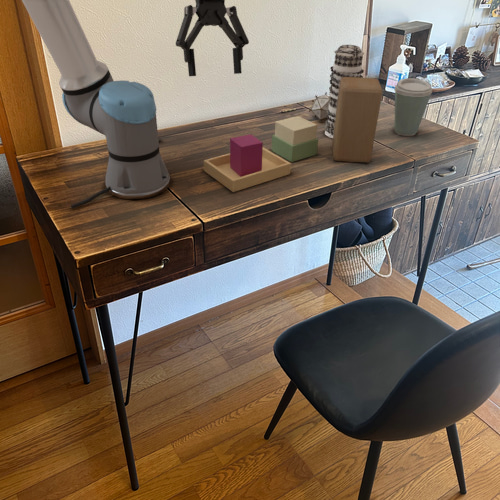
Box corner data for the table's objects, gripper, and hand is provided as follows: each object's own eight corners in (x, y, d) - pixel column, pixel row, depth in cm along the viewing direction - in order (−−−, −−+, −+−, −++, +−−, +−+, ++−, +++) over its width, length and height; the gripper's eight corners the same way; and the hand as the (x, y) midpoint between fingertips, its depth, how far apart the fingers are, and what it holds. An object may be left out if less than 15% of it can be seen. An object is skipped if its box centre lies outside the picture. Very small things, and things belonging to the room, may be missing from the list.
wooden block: (366, 149, 138) (378, 77, 127) (370, 164, 130) (383, 89, 118) (331, 147, 139) (340, 75, 127) (332, 162, 131) (342, 87, 119)
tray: (233, 192, 116) (233, 180, 114) (204, 170, 125) (203, 160, 123) (290, 174, 124) (291, 163, 123) (259, 155, 133) (259, 145, 132)
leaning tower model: (347, 142, 142) (359, 52, 127) (318, 135, 146) (327, 47, 131) (358, 132, 148) (372, 45, 134) (331, 126, 152) (341, 41, 138)
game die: (319, 128, 160) (325, 98, 161) (339, 126, 154) (345, 95, 154) (301, 119, 155) (307, 88, 155) (321, 116, 148) (327, 84, 148)
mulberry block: (240, 177, 121) (241, 147, 116) (230, 167, 125) (229, 138, 120) (261, 172, 123) (262, 142, 119) (250, 163, 127) (251, 134, 123)
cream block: (293, 145, 128) (294, 130, 126) (274, 135, 133) (275, 121, 131) (315, 139, 132) (317, 124, 130) (297, 129, 137) (298, 115, 135)
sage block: (291, 162, 130) (292, 146, 128) (271, 150, 136) (272, 135, 134) (316, 154, 135) (318, 139, 132) (296, 143, 140) (297, 128, 138)
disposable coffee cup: (429, 137, 146) (441, 87, 137) (396, 140, 144) (407, 89, 135) (411, 124, 154) (421, 76, 145) (380, 127, 152) (389, 78, 143)
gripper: (168, -21, 112) (178, 76, 120) (258, -16, 124) (262, 72, 132) (156, -15, 118) (166, 77, 126) (243, -11, 130) (248, 73, 138)
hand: (215, 75), depth 129 cm, fingers open, 13 cm apart
